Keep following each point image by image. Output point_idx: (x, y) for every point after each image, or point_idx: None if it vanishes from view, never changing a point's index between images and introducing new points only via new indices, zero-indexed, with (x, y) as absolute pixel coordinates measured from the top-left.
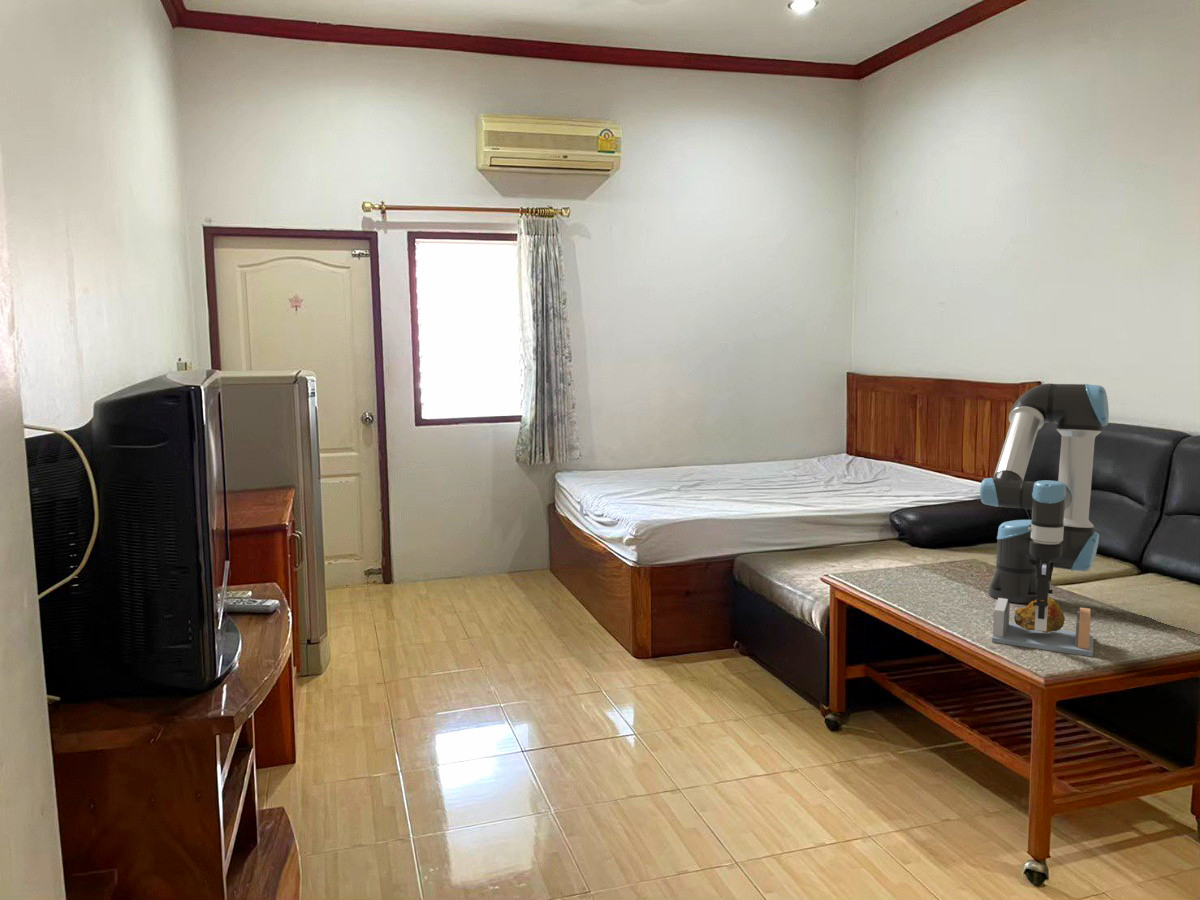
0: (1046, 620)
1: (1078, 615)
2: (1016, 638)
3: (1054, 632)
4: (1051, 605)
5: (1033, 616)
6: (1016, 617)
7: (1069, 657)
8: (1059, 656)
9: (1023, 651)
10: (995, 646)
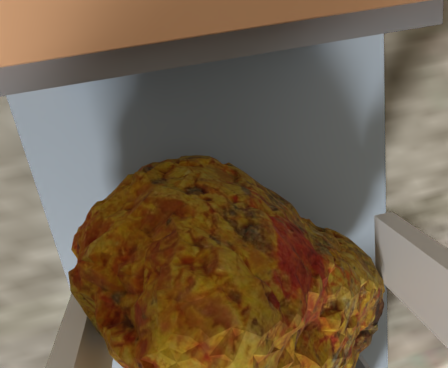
0: (444, 248)
1: (170, 52)
2: None
3: None
4: (294, 316)
5: (352, 342)
6: None
7: (433, 44)
8: (438, 91)
9: (437, 241)
10: (422, 340)
